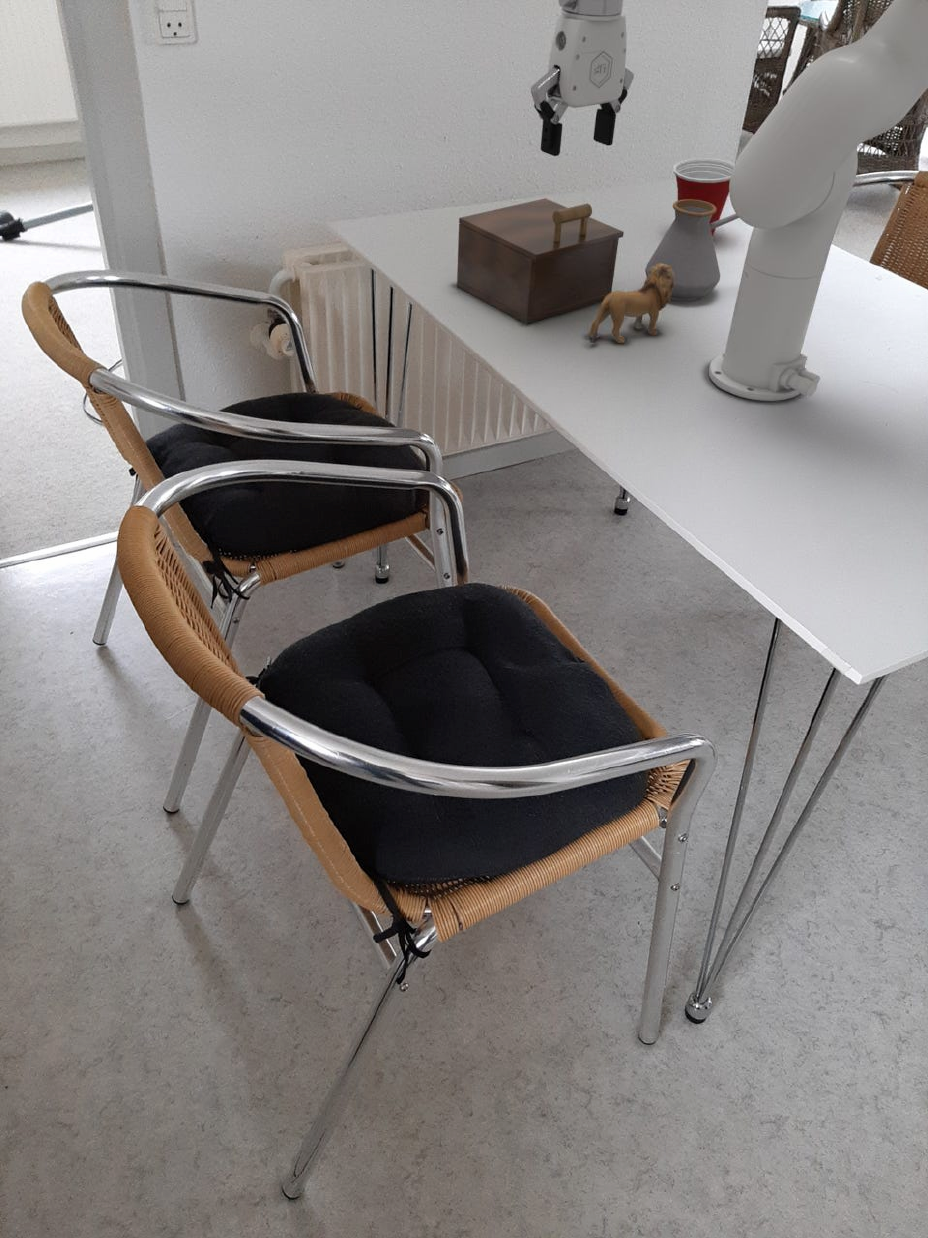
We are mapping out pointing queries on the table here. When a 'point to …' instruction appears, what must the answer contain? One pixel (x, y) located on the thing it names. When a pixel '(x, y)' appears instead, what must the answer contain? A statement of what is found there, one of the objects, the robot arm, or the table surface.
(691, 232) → the coffee pot
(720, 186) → the plastic cup
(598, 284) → the chest
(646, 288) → the lion figurine
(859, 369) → the table surface
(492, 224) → the lid
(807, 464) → the table surface
